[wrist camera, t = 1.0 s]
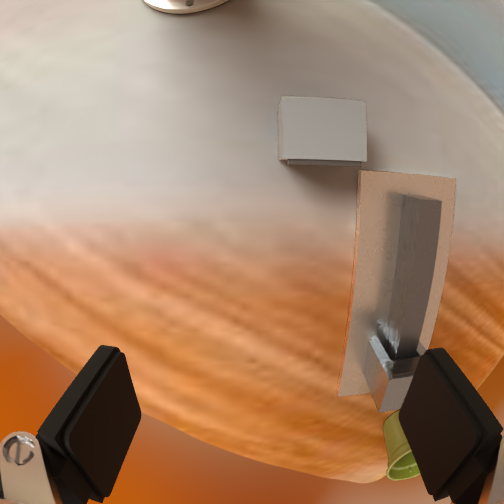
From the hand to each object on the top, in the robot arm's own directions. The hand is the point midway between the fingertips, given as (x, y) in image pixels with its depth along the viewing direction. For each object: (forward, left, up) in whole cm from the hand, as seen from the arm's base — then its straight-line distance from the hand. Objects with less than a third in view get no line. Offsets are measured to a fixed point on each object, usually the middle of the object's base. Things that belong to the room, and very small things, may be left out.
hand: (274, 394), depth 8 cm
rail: (+7, +14, -21) cm, 26 cm away
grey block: (-9, +4, -21) cm, 23 cm away
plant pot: (+28, +20, -21) cm, 40 cm away
